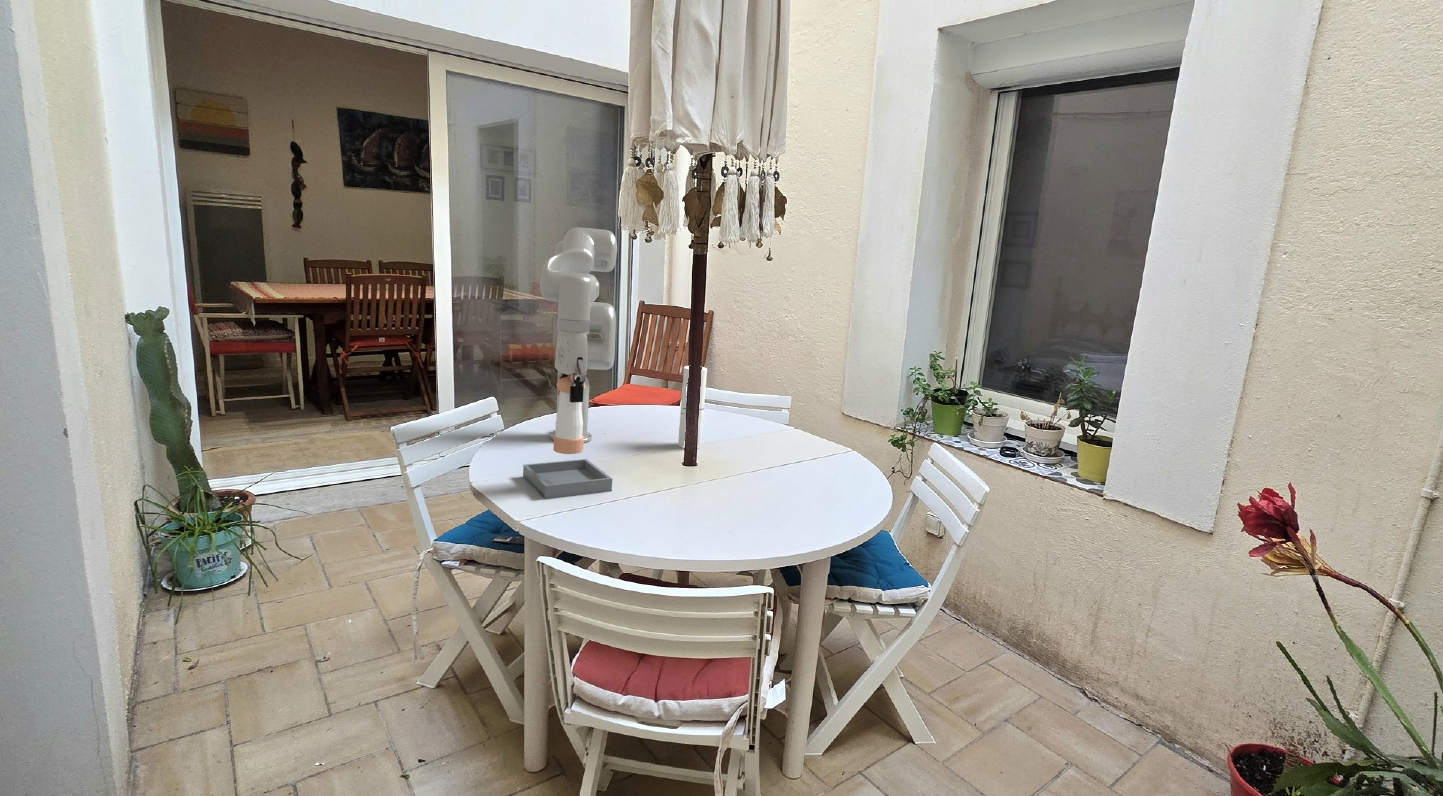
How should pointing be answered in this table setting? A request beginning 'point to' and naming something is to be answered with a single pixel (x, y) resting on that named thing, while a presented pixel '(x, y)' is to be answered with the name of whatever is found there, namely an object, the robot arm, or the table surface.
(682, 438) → the cylindrical container
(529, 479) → the tray
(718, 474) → the table surface
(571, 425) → the pepper shaker
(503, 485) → the table surface
